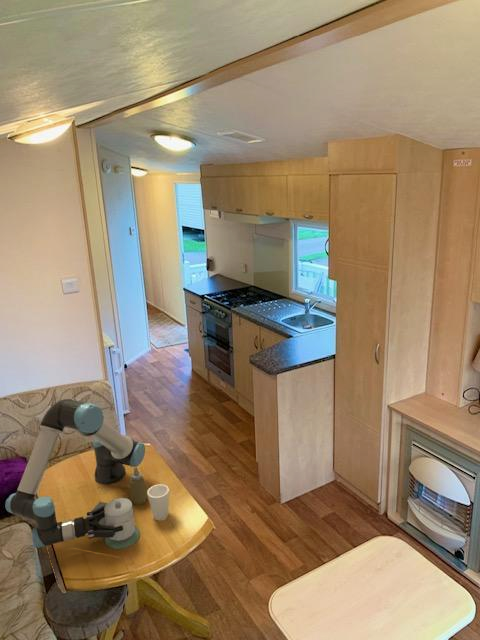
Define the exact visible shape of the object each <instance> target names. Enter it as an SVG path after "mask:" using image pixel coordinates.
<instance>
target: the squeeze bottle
mask: <svg viewBox="0 0 480 640" xmlns="http://www.w3.org/2000/svg"><path fill="white" fill-rule="evenodd" d="M130 475H131V476H130V479H129V497H130V500H131V502H132V504H134V505H136V506H139V505H143V504H145V503H146V501H147V499H148V494H147V491H148V489H147V484H146V479H145V477H144V476H143V474H142V472H141V471H139V468H138V466H137V467H134V468H133V473H131V474H130Z"/></svg>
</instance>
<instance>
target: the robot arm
mask: <svg viewBox="0 0 480 640" xmlns="http://www.w3.org/2000/svg"><path fill="white" fill-rule="evenodd" d="M103 414H104V411H103V410H102V408H101V407H100V406H99V405H97V404H95V403H92V402H84V401H80V400H74V399H71V398H67V399H66V398H64V399H60V400H58V401H57V402H55V403H54V404H52V405H51V406H50V407H49V409H48V410H47V411H46V412H45V414H44V415H43V418H42V419H41V421H40V424H39V427H40V431H39V433H38V436H37V439H36V442H35V443H34V447H33V448H32V451H31V454H30V457H29V459H28V461H27V464H26V467H25V470H24V472H23V474H22V477H21V479H20V482H19V484H18V487H17V490H16V492H15V493H12V494H10V495H9V496H8V498H6V500H5V504H4V505H5V509H6V511H7V512H8V513H10V514H12V515H14V516H17V517H22V518H24V519H27V520H30V521H32V522H34V523H35V528H33V529H32V532H31V533H32V534H31V536H32V537H31V538H32V543H33V547H35V548H37V549H38V548H42V547H43V548H44V547H48V546H51V545H55V544H58V543H62V542H65V541H70V540H74V539H75V538H76V539H80V538H83V537H85V536H86V534H87V537H88V539H89V540H90V539H95V538H99V539H101V538H105V537H114V535H115V532H119V531H122V530H125V529H129V528H132V527H131V521H129V522H125V523H121V524H117V525H114V527H115V528H114V527H111V526H105V525H100V524H99V523H98V522H99V521H100V520H101V519H102V518H104V517H105V510H104V508H105V506H106V505H104V506H102V507H100V508H98V509H96V510H94V511H92V510H91V511H88V512H86V517H87V518H86V517H84V516H80V517H75V518H74V519H72V518H70V519H66V520H63V521H59V522H58V520H57V516H56V514H57V513H56V507H55V504H54V499H52V497H50V496H41V497H38V498H36V495H37V493H38V490H39V487H40V485H41V483H42V480H43V477H44V474H45V472H46V469H47V466H48V464H49V461H50V459H51V457H52V454H53V451H54V448H55V446H56V443H57V441H58V438H59V435H60V434H63V431H64V429H65V428H67V429H69V430H74V431H76V432H77V433H79V434H80V435H82V436H84V437H91V438H93V451H94V455H95V457H94V458H95V461H96V465H95V471H94V479H95V482H96V483H98V484H101V485H112V484H115V483H118V482H119V481H122V480H123V479H124V477H126V473H127V472H126V467H125V466H129V467H134V468H135V467H137V468H138V467H139V466H140V465H141V463H142V462H143V460H144V458H145V455H146V446H145V443H143V442H141V441H137V440H134V439H133V438H132V437H130V436H129V435H126V434H125V435H123V434H122V433H121V432H119V431H118V430H117V429H116V428H115V427H113V426H112V425H111V424H109V423H108V422H107V421H105V418H104V417H105V416H104V415H103ZM35 498H36V499H35ZM92 514H93V515H92Z"/></svg>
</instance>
